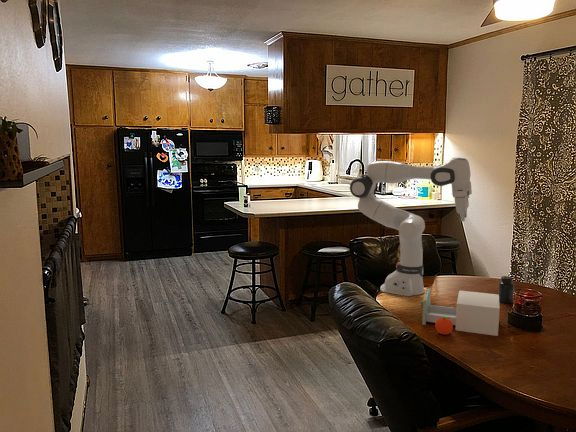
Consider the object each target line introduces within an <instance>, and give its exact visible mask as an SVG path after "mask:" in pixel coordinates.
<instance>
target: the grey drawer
mask: <svg viewBox="0 0 576 432" xmlns="http://www.w3.org/2000/svg"><path fill="white" fill-rule="evenodd" d="M424 294H425V295H424V297H423V298H422V299H423V300H422V301H421V303H420V304H421V305H420V308H422V320H421V321H422V322H421V324H422V326H423V325H424V326H426V323H427V322H428V323H436V321H437V320H438V319H439V318H441V317H448V319H450V320H451V322H452V323H453V326H456V307H453V306H443V305H434V304H431V299H432V297H431V296H432V288H431V287H427V290H426V292H425V293H424Z"/></svg>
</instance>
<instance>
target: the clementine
mask: <svg viewBox="0 0 576 432" xmlns="http://www.w3.org/2000/svg"><path fill="white" fill-rule="evenodd" d="M434 327H435V330H436V331H437V333H438V334H440V335H445V336H446V335H449V334H450V333H452V331H453V329H454V325H453V323H452V322H451V320H450V319H448V317H441V318H439V319H438V320H437V321H436V323H435V324H434Z"/></svg>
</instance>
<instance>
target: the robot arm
mask: <svg viewBox="0 0 576 432" xmlns="http://www.w3.org/2000/svg"><path fill="white" fill-rule="evenodd" d="M414 179H415V180H416V179H417V180H418V179H421V180H430V181H431V183H433V184H434V185H435V186H438V187H445V186H446V185H450V184H451V195H452V198H454V205H455V211H456V213H457V214H459V218H460V222H465V220H466V218H467V217H468V216H467V213H468V209H469V208H468V207H469V206H470V203H469V201H470V200H469V198H470V195H472V194H473V193H472V192H473V191H472V181H471V167H470V162H469V160H468V159H467V158H465V157H451V159H450V160H449V161H447V162H445V163H443V164H442V163H441V164H439V165H436V166H419V165H418V166H417V165H411V164H406V163H401V162H399V161H389V160H388V161H387V160H383V161H382V160H381V161H380V160H378V161H373V162H370V163H369V164H368V165H367V168H366V173H365V174H361V175H359V176H357V177H356V178H354V179H353V180H352V181H351V182H350V183H349V192H350V193H351V194H352V196H353V197H355V198H358V199H359V200H358V203H357V209H358V211H360V213H362V215H364V216H366V217H368V218H369V219H370V220H372V221H375V222H377V223H378V224H381V225H382V226H385V227H386V228H390V229H394V230H395V231H396V230H397V231H398V237H399V245H400V246H399V247H400V255H399V256H400V258H399V260H400V261H398V262H397V263H396V265H395V267H396V268H395V270H394V271H393V272H392V273H389V274H388V275H387V276H386V278H385V280H384V283H383V284H382V285H380V287H379V288H380V289H379V290H380V292H382V293H388V294H393V295H400V296H404V297H411V296H418V295H422V294H425V293H426V292H425V291H426V289H425V287H424V281H423V280H424V279H423V277H424V276H423V275H424V264H423V259H424V258H423V253H424V252H423V251H424V249H423V241H422V240H423V238H422V237H423V235H422V234H423V233H424V231H425V229H426V223H425V220H424V219H423V217H421V216H420V215H418V214H414V213H412V212H410V211H407V210H404V209H400V208H398V207H396V206H394V205H392V204H390V203H388V202H386V201H383V200H382V199H379V198H378V197H377V196H376V194H377V193H376V192H377V186H378V184H379V183H383V184H384V183H385V184H399V183H403V182H407V181H409V180H414Z"/></svg>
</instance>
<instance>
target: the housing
mask: <svg viewBox="0 0 576 432" xmlns="http://www.w3.org/2000/svg"><path fill="white" fill-rule="evenodd" d="M455 308H456V325H455V331H458V332H465V333H473V334H479V335H487V336H488V335H489V336H494V337H495V336H497V337H499V321H500V301H499V295H498V293H497V294H496V293H487V292H477V291H467V290H459V291H458V295H457V300H456V307H455Z"/></svg>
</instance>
